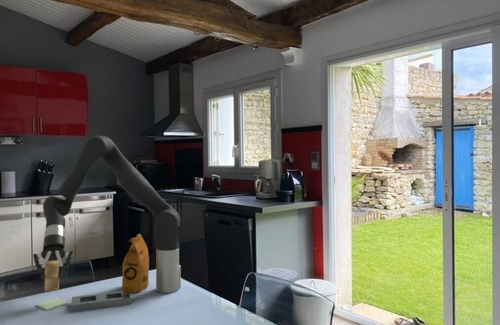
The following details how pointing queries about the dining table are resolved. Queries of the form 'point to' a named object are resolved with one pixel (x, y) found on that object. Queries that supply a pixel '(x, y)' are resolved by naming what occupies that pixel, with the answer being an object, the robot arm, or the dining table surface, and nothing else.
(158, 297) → the dining table surface
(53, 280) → the peg
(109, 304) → the block with square holes
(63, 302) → the mat
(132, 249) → the coffee package
